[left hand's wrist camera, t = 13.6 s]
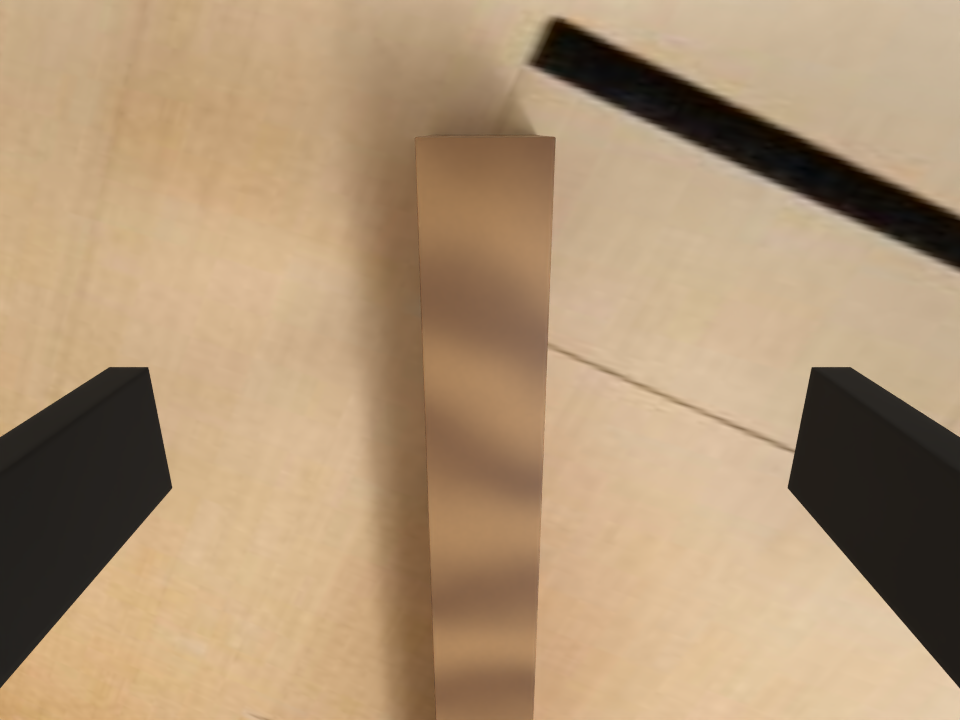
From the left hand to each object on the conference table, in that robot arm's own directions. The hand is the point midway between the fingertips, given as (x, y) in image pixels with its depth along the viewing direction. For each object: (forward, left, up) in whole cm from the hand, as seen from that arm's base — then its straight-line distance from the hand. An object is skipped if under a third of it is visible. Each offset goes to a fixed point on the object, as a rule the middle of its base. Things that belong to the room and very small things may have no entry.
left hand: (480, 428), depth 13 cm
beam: (+16, +28, -23) cm, 40 cm away
